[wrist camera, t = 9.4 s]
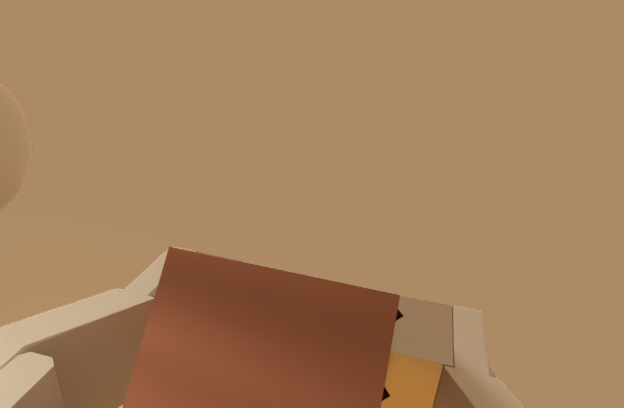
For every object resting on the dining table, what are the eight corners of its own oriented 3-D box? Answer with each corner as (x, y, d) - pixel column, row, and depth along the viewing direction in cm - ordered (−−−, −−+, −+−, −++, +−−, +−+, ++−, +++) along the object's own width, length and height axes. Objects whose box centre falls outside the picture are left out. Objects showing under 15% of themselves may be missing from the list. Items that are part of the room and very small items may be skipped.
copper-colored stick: (367, 479, 5) (400, 295, 5) (122, 407, 6) (169, 246, 6) (384, 348, 30) (389, 318, 30) (339, 338, 30) (345, 308, 31)
